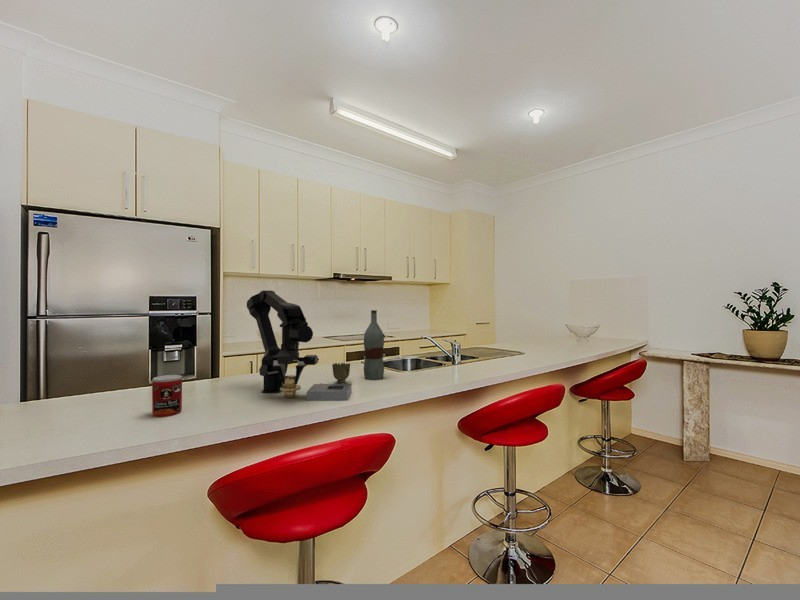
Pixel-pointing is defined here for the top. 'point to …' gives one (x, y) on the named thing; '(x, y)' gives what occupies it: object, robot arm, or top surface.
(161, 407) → the canned food
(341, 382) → the cup
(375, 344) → the bottle
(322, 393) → the block
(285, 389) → the brass bushing
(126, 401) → the top surface
